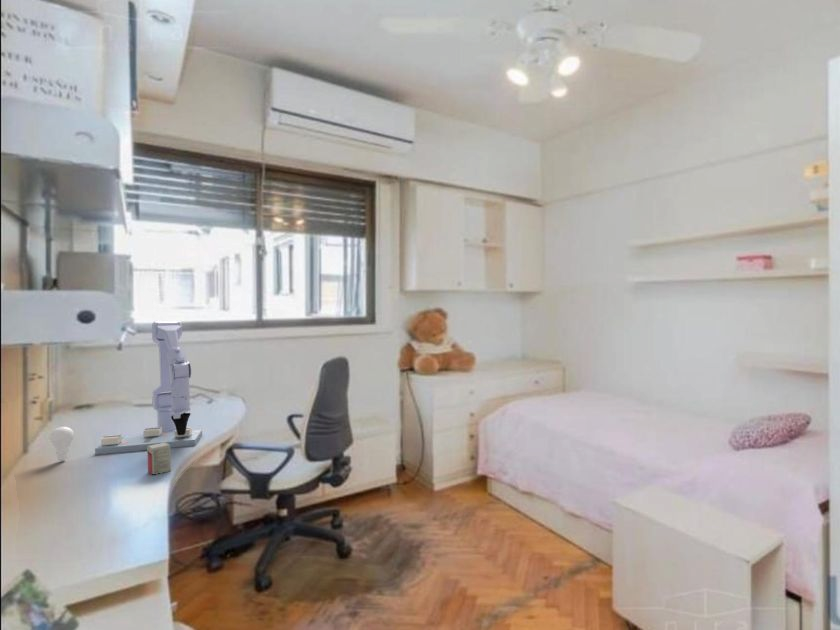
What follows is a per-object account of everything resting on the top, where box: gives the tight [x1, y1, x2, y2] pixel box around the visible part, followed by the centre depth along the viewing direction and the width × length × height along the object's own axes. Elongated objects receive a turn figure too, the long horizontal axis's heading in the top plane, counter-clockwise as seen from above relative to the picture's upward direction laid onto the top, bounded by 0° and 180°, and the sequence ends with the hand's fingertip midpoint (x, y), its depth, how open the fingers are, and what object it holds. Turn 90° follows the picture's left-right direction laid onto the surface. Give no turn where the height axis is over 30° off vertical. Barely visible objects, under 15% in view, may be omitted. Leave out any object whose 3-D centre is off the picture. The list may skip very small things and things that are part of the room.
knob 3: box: [174, 426, 193, 437], centre depth 168 cm, size 4×5×2 cm
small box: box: [146, 443, 172, 475], centre depth 136 cm, size 5×4×8 cm
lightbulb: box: [49, 426, 75, 462], centre depth 148 cm, size 6×6×11 cm
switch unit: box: [94, 429, 203, 456], centre depth 166 cm, size 15×30×2 cm, turn 107°
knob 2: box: [143, 426, 162, 437], centre depth 170 cm, size 4×5×2 cm
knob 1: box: [100, 434, 123, 446], centre depth 160 cm, size 4×5×2 cm
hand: (181, 434), depth 165 cm, fingers closed
